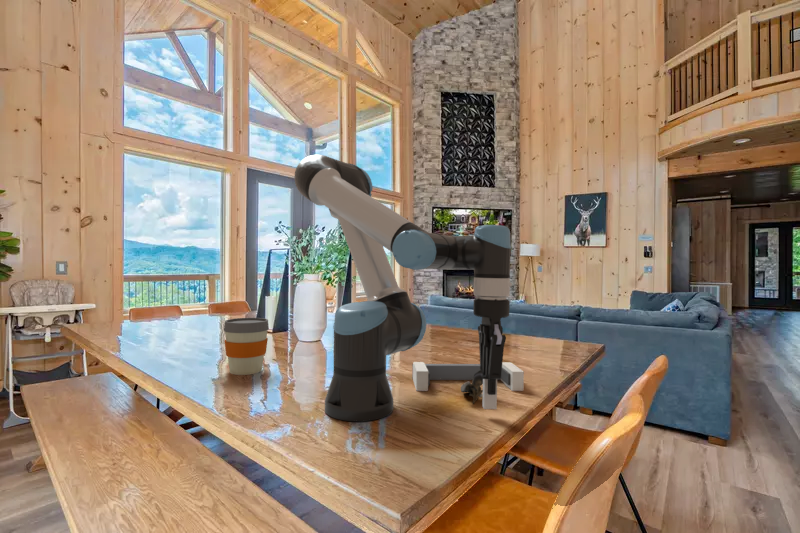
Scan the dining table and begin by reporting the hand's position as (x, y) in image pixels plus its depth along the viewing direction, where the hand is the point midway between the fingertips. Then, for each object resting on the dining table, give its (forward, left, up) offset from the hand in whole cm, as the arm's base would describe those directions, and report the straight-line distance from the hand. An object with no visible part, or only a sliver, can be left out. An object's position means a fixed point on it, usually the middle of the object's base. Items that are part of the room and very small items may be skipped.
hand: (489, 407), depth 86 cm
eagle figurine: (0, +12, -2) cm, 12 cm away
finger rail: (0, +23, -2) cm, 23 cm away
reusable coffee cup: (-63, +37, -2) cm, 73 cm away
